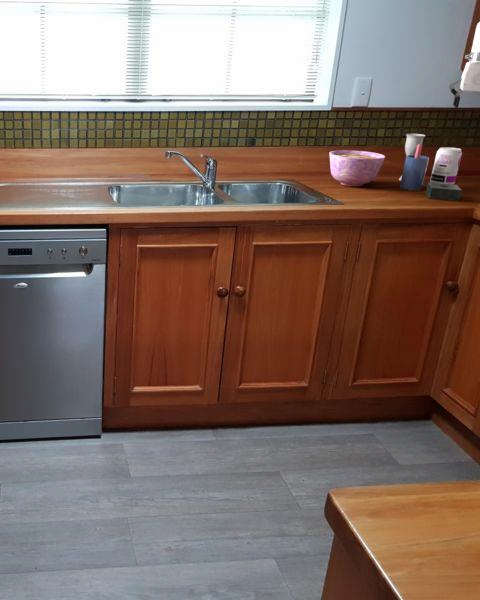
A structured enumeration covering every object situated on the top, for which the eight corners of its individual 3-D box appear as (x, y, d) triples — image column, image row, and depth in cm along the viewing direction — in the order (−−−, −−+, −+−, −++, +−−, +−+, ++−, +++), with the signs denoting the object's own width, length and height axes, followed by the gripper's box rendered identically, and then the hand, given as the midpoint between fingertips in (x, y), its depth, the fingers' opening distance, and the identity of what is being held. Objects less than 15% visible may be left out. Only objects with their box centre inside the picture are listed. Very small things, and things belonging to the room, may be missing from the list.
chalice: (398, 177, 252) (407, 133, 245) (416, 179, 248) (426, 134, 241) (394, 180, 246) (404, 135, 239) (413, 182, 243) (423, 136, 236)
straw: (412, 186, 233) (422, 144, 227) (412, 187, 232) (422, 145, 225) (407, 186, 233) (417, 144, 227) (408, 187, 232) (417, 144, 226)
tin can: (420, 187, 235) (427, 156, 230) (422, 191, 228) (430, 159, 224) (398, 185, 237) (405, 154, 233) (400, 189, 231) (407, 157, 226)
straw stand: (454, 195, 222) (457, 184, 220) (458, 201, 214) (461, 190, 212) (425, 193, 225) (428, 182, 223) (429, 198, 217) (431, 187, 215)
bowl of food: (389, 186, 236) (396, 156, 232) (359, 192, 226) (365, 160, 221) (344, 177, 251) (349, 148, 247) (313, 182, 241) (318, 152, 236)
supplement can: (450, 187, 236) (460, 147, 230) (454, 191, 229) (465, 151, 223) (427, 185, 238) (436, 146, 232) (430, 189, 231) (440, 149, 225)
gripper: (456, 58, 217) (446, 108, 223) (513, 58, 211) (500, 109, 218) (452, 58, 223) (442, 106, 230) (507, 57, 218) (495, 107, 224)
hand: (470, 107), depth 224 cm, fingers open, 9 cm apart
